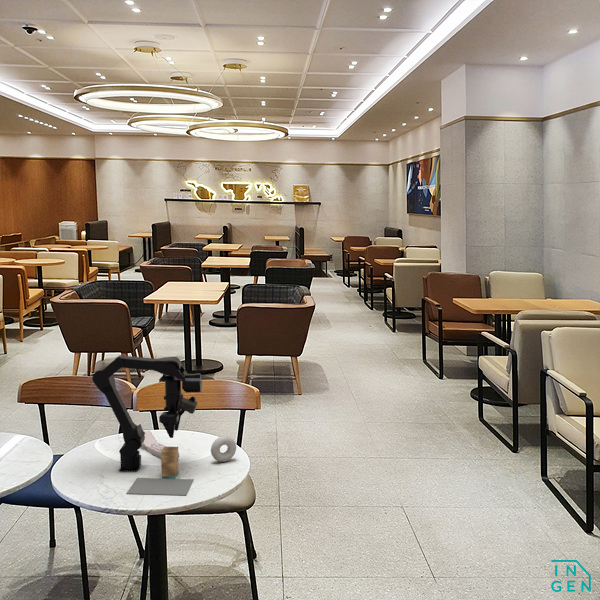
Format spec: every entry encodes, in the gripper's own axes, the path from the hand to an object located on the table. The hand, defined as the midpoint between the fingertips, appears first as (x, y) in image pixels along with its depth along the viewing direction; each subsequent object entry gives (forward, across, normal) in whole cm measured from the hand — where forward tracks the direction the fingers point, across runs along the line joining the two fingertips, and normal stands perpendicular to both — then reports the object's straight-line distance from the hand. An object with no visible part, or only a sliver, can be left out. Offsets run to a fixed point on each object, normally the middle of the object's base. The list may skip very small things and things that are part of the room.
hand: (174, 434), depth 242 cm
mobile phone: (+14, +15, +9) cm, 22 cm away
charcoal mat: (+13, -16, +1) cm, 21 cm away
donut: (+14, +8, -17) cm, 23 cm away
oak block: (+13, -7, 0) cm, 15 cm away
